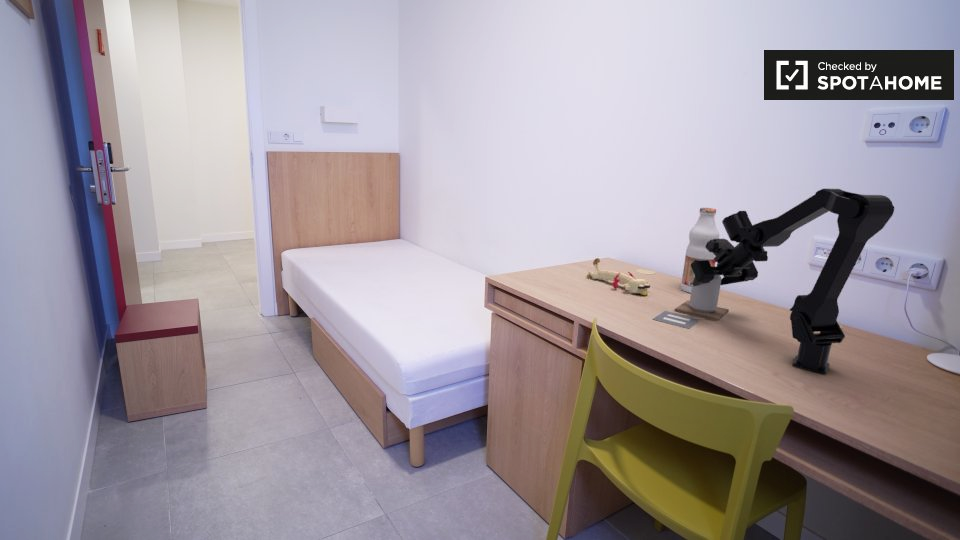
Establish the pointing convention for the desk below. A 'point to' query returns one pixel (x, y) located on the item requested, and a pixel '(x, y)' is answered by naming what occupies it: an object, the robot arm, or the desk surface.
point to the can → (705, 295)
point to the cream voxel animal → (620, 279)
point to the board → (713, 315)
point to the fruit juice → (699, 245)
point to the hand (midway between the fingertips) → (706, 284)
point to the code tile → (676, 319)
